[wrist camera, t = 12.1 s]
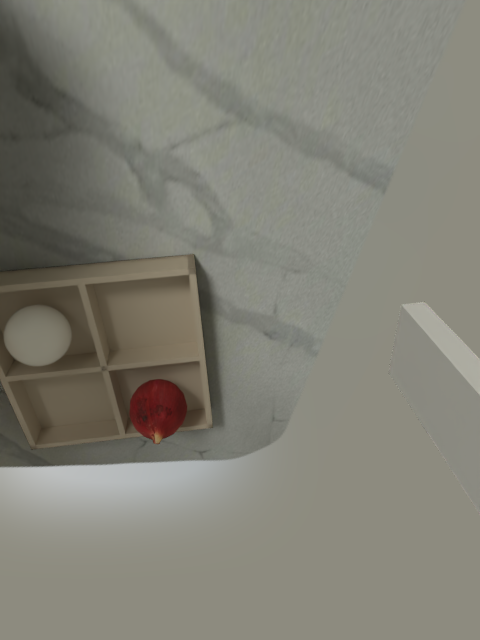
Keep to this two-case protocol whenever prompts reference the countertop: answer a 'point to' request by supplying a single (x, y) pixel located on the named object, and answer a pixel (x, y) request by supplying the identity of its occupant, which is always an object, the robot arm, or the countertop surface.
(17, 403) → the wooden tray
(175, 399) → the onion
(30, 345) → the ceramic egg
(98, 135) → the countertop surface
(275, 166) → the countertop surface
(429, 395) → the robot arm
